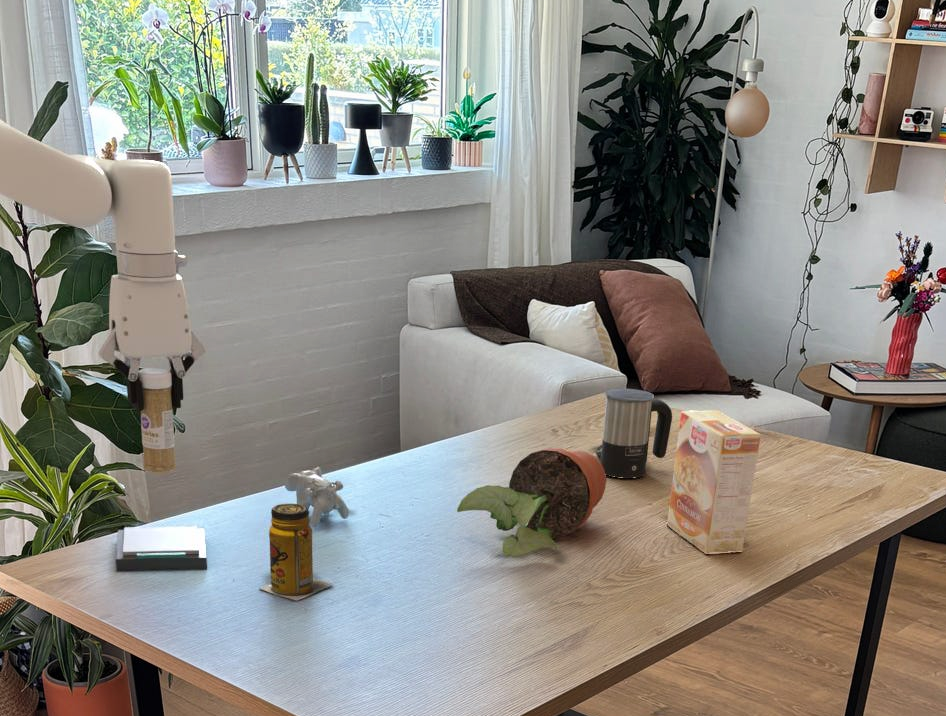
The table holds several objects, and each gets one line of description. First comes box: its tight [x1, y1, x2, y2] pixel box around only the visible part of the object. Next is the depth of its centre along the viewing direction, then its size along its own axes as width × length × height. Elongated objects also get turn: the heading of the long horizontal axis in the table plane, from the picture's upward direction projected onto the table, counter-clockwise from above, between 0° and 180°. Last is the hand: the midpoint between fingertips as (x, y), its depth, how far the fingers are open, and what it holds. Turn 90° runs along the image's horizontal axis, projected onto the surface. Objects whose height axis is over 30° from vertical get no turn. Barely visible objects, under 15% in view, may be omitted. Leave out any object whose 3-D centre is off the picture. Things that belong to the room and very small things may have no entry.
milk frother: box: [595, 388, 673, 478], centre depth 248 cm, size 14×16×15 cm
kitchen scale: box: [115, 525, 208, 572], centre depth 196 cm, size 13×13×2 cm
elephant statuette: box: [284, 466, 350, 528], centre depth 213 cm, size 9×12×8 cm
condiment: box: [258, 503, 335, 602], centre depth 185 cm, size 7×8×12 cm
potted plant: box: [456, 447, 607, 558], centre depth 206 cm, size 16×15×35 cm
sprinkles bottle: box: [138, 367, 177, 474], centre depth 180 cm, size 5×5×14 cm
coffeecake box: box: [666, 409, 762, 553], centre depth 212 cm, size 15×7×20 cm, turn 18°
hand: (156, 405), depth 179 cm, fingers closed on sprinkles bottle, 4 cm apart
